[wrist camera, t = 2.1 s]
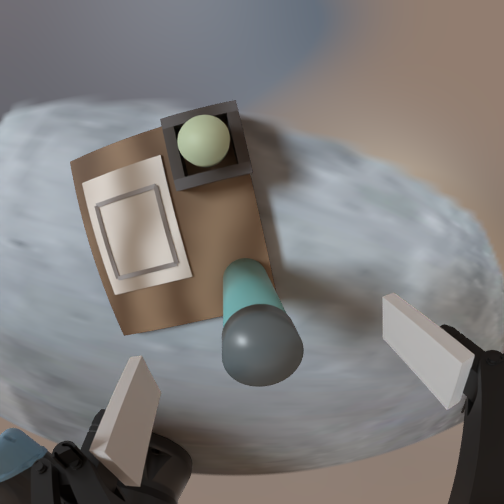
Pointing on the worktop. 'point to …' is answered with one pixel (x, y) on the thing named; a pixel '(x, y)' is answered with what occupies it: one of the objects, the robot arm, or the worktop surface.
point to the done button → (204, 140)
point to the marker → (256, 328)
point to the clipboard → (168, 222)
